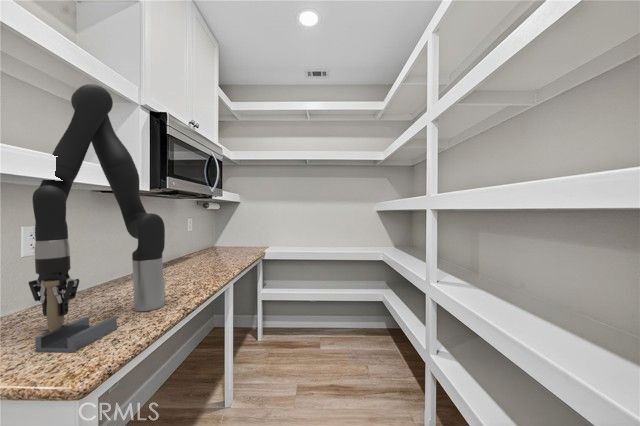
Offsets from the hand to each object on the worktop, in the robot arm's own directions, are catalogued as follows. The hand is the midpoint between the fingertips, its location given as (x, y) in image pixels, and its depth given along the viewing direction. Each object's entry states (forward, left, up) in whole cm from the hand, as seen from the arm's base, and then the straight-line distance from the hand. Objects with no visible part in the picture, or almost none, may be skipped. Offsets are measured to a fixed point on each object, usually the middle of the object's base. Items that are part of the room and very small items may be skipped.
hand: (55, 314), depth 86 cm
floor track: (+5, +12, -5) cm, 14 cm away
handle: (0, 0, -5) cm, 5 cm away
